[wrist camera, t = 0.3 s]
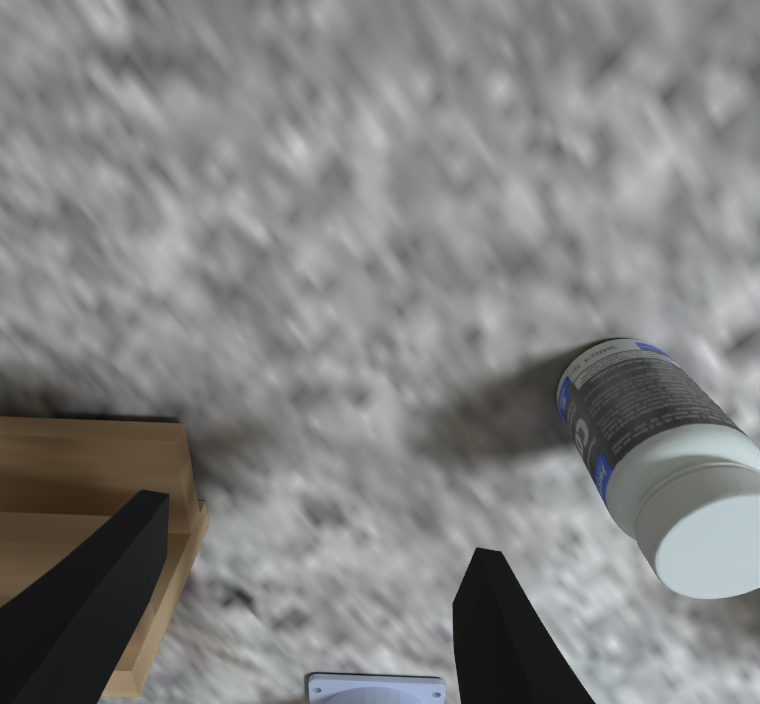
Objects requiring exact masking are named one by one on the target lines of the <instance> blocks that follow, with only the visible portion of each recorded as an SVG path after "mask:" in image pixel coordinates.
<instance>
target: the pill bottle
mask: <svg viewBox="0 0 760 704" xmlns="http://www.w3.org/2000/svg"><path fill="white" fill-rule="evenodd" d="M557 404H558V409H559V412H560V414H561V417H562V419H563V421H564V423H565V425H566V427H567V429H568V431H569V433H570V435H571V437H572V439H573V441H574V443H575V445H576V447H577V449H578V451H579V453H580V455H581V457H582V459H583V461H584V463H585V465H586V467H587V469H588V471H589V473H590V475H591V477H592V479H593V481H594V483H595V485H596V487H597V489H598V492H599V494H600V496H601V498H602V500H603V501H604V503H605V506H606V508H607V509H608V511H609V513H610V515H611V517H612V518H613V520H614V521H615V523H616V524H617V525H618V526H619V527H620V528H621V529H622V530H623V531H624V532H625V533H626V534H627V535H628V536H630V537H631V538H633V539H635V540H636V541H637V544H638V546H639V548H640V550H641V552H642V553H643V555H644V556H645V558H646V559H647V561H648V562H649V564H650V566H651V568H652V569H653V571H654V573H655V574H656V576H657V577H658V579H659V580H660V581H661V582H662V583H663V584H664V585H665V586H666V587H667V588H669V589H670V590H672V591H674V592H676V593H678V594H681V595H684V596H687V597H691V598H697V599H718V598H727V597H732V596H737V595H741V594H744V593H747V592H750V591H752V590H755V589H758V588H760V450H759V449H758V448H757V446H756V445H755V444H754V443H753V441H752V440H751V439H750V438H749V437H748V436H747V435H746V434H745V433H744V432H743V431H742V430H740V429H739V428H738V427H737V426H736V424H735V423H734V422H732V421H731V420H730V418H729V417H728V416H727V415H726V414H725V413H724V412H723V411H722V410H721V408H720V407H719V406H718V405H717V404H716V403H715V402H714V401H713V400H712V399H710V398H709V396H708V395H707V394H706V393H705V392H704V391H702V390H701V388H700V387H699V386H698V385H697V384H696V383H695V382H694V381H693V380H692V379H691V378H690V377H689V376H688V375H687V374H686V373H685V372H684V371H683V370H682V369H681V368H680V367H679V366H678V365H677V364H676V363H675V362H674V361H673V360H672V359H671V358H670V357H669V356H668V355H667V354H666V353H664V352H663V351H662V350H661V349H659V348H658V347H656V346H654V345H652V344H650V343H648V342H645V341H642V340H636V339H615V340H610V341H607V342H604V343H601V344H599V345H596V346H594V347H592V348H590V349H588V350H587V351H585V352H584V353H582V354H581V355H580V356H579V357H577V358H576V359H575V360H574V361H573V362H572V363H571V364H570V365H569V366H568V368H567V369H566V370H565V372H564V374H563V375H562V377H561V379H560V383H559V386H558V390H557Z"/></svg>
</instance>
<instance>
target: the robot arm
mask: <svg viewBox="0 0 760 704" xmlns="http://www.w3.org/2000/svg"><path fill="white" fill-rule="evenodd" d="M169 499H170V494H167V493H161V492H155V491H149V490H144V489H142V490H140V491H139V492H137V493H136V494H135V495H134V496H133V497H132V498H131V499H130V500H129V501H128V502H127V503H126V504H125V505H124V506H122V507H121V508H120V509H119V510H118V511H117V512H116V513H115V514H114V515H113V516H112V517H111V518H110V519H108V520H107V521H106V522H105V523H104V524H103V525H102V526H101V527H100V528H98V529H97V530H96V531H95V532H94V533H93V534H92V535H91V536H89V537H88V538H87V539H86V540H85V541H84V542H82V543H81V544H80V545H79V546H78V547H77V548H75V549H74V550H73V551H72V552H71V553H70V554H68V555H67V556H66V557H65V558H64V559H62V560H61V561H60V562H59V563H58V564H56V565H55V566H54V567H53V568H51V569H50V570H49V571H47V572H46V573H45V574H44V575H42V576H41V577H40V578H38V579H37V580H36V581H35V582H33V583H32V584H31V585H29V586H28V587H27V588H26V589H24V590H23V591H22V592H21V593H19V594H18V595H17V596H15V597H14V598H12V599H11V600H10V601H8V602H7V603H6V604H4V605H3V606H1V607H0V704H97V702H98V700H99V699H100V697H101V695H102V693H103V691H104V689H105V687H106V685H107V683H108V681H109V679H110V677H111V675H112V674H113V672H114V670H115V668H116V666H117V664H118V662H119V660H120V658H121V656H122V654H123V652H124V650H125V649H126V647H127V645H128V643H129V641H130V639H131V637H132V635H133V633H134V631H135V629H136V627H137V625H138V623H139V621H140V620H141V618H142V616H143V614H144V612H145V610H146V608H147V606H148V604H149V602H150V599H151V597H152V594H153V592H154V589H155V587H156V584H157V582H158V579H159V577H160V574H161V571H162V569H163V566H164V563H165V561H166V558H167V545H168V522H169ZM453 642H454V655H455V663H456V670H457V677H458V684H459V692H460V699H461V704H595V702H594V701H593V699H592V698H591V697H590V695H589V694H588V692H587V691H586V690H585V688H584V687H583V685H582V684H581V682H580V681H579V679H578V678H577V676H576V675H575V673H574V672H573V671H572V669H571V668H570V666H569V665H568V663H567V662H566V660H565V659H564V657H563V655H562V654H561V652H560V651H559V649H558V648H557V646H556V644H555V643H554V641H553V640H552V638H551V636H550V635H549V633H548V631H547V630H546V628H545V627H544V625H543V623H542V622H541V620H540V618H539V617H538V615H537V613H536V612H535V610H534V608H533V607H532V605H531V603H530V601H529V600H528V598H527V596H526V594H525V593H524V591H523V589H522V587H521V586H520V584H519V582H518V580H517V578H516V577H515V575H514V573H513V571H512V569H511V568H510V566H509V564H508V562H507V561H506V559H505V557H504V555H503V554H502V552H500V551H495V550H489V549H483V548H477V547H476V550H475V552H474V554H473V557H472V559H471V561H470V564H469V566H468V568H467V571H466V573H465V576H464V578H463V580H462V583H461V585H460V587H459V590H458V592H457V594H456V597H455V599H454V602H453ZM308 689H309V704H443V703H444V697H445V691H446V687H445V682H444V681H443V680H442V679H438V678H414V677H389V676H363V675H337V674H313V675H311V676H310V677H309V682H308Z"/></svg>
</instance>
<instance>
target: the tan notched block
mask: <svg viewBox="0 0 760 704" xmlns="http://www.w3.org/2000/svg"><path fill="white" fill-rule="evenodd" d="M142 489H144V490H149V491H155V492H161V493H167V494H170V499H169V522H168V545H167V558H166V561H165V563H164V566H163V569H162V571H161V574H160V577H159V579H158V582H157V584H156V587H155V589H154V592H153V594H152V597H151V599H150V602H149V604H148V606H147V608H146V610H145V612H144V614H143V616H142V618H141V620H140V621H139V623H138V625H137V627H136V629H135V631H134V633H133V635H132V637H131V639H130V641H129V643H128V645H127V647H126V649H125V650H124V652H123V654H122V656H121V658H120V660H119V662H118V664H117V666H116V668H115V670H114V672H113V674H112V675H111V677H110V679H109V681H108V683H107V685H106V687H105V689H104V691H103V693H102V695H101V696H121V697H139V696H140V694H141V691H142V689H143V687H144V684H145V682H146V679H147V677H148V674H149V672H150V669H151V667H152V664H153V662H154V659H155V657H156V654H157V652H158V649H159V647H160V645H161V642H162V640H163V637H164V635H165V632H166V630H167V627H168V625H169V622H170V620H171V617H172V615H173V612H174V610H175V608H176V605H177V603H178V600H179V598H180V595H181V593H182V590H183V588H184V585H185V583H186V580H187V578H188V575H189V573H190V570H191V568H192V566H193V563H194V561H195V558H196V556H197V553H198V551H199V548H200V546H201V543H202V541H203V538H204V536H205V533H206V531H207V528H208V526H209V520H208V514H207V508H206V501H198V499H197V493H196V487H195V481H194V475H193V469H192V463H191V457H190V451H189V445H188V439H187V433H186V427H185V424H184V423H159V422H133V421H107V420H81V419H55V418H29V417H4V416H0V607H1V606H3V605H4V604H6V603H7V602H8V601H10V600H11V599H12V598H14V597H15V596H17V595H18V594H19V593H21V592H22V591H23V590H24V589H26V588H27V587H28V586H29V585H31V584H32V583H33V582H35V581H36V580H37V579H38V578H40V577H41V576H42V575H44V574H45V573H46V572H47V571H49V570H50V569H51V568H53V567H54V566H55V565H56V564H58V563H59V562H60V561H61V560H62V559H64V558H65V557H66V556H67V555H68V554H70V553H71V552H72V551H73V550H74V549H75V548H77V547H78V546H79V545H80V544H81V543H82V542H84V541H85V540H86V539H87V538H88V537H89V536H91V535H92V534H93V533H94V532H95V531H96V530H97V529H98V528H100V527H101V526H102V525H103V524H104V523H105V522H106V521H107V520H108V519H110V518H111V517H112V516H113V515H114V514H115V513H116V512H117V511H118V510H119V509H120V508H121V507H122V506H124V505H125V504H126V503H127V502H128V501H129V500H130V499H131V498H132V497H133V496H134V495H135V494H136V493H137V492H139V491H140V490H142Z"/></svg>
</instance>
